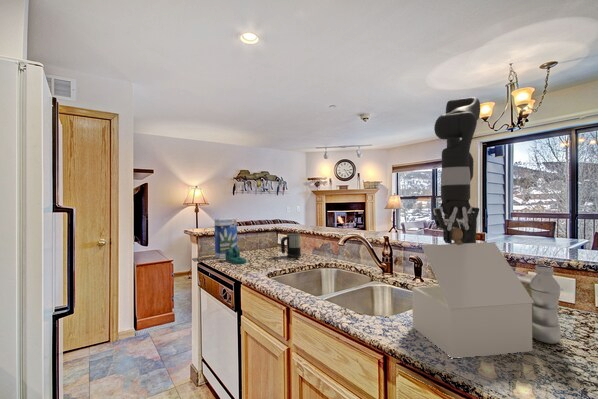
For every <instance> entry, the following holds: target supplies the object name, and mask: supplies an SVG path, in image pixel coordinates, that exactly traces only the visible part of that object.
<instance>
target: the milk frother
mask: <svg viewBox="0 0 598 399" xmlns="http://www.w3.org/2000/svg"><path fill="white" fill-rule="evenodd" d="M301 235H302V234H301V233H287V236H283V237H282V238H281V240H280V249H281V253H282V254H285V253H287V257H289V258H294V259H296V260H298V259H301V256H302V252H301ZM286 241H287V243H286V244H287V245H285V242H286ZM285 246H287V247H285ZM285 248H287V252H286V249H285Z"/></svg>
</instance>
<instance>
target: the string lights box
mask: <svg viewBox="0 0 598 399" xmlns="http://www.w3.org/2000/svg"><path fill="white" fill-rule="evenodd" d="M237 221H238V219H237V218H235V217H233V218H214V258H217V259H226V257H225V252H226V249H229V248H231V249H233V248H238V224H237V223H238V222H237Z"/></svg>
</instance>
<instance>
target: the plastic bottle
mask: <svg viewBox="0 0 598 399" xmlns="http://www.w3.org/2000/svg"><path fill="white" fill-rule="evenodd" d="M534 273H536V274H535V275H534V277H533V279H532V280H531V281H530V284H529V285H530V292H531V298H532V300H533V301H534V303H532V339H535V340H536V341H538V342H541V343H545V344H550V345H552V344H553V345H554V344H555V345H556V344H558V343H559V342H560V340H561V337H562V333H561V327H560V323H559V315H558V314H559V311H558V310H559V309H558V308H559V301H560V295H561V290H562V289H561V286H560V283H558V281H557V280H556V279H555V277H553V276H554V275H555V272H554V266H550V265H546V264H545V265H544V264H536V265H535V271H534Z"/></svg>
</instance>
